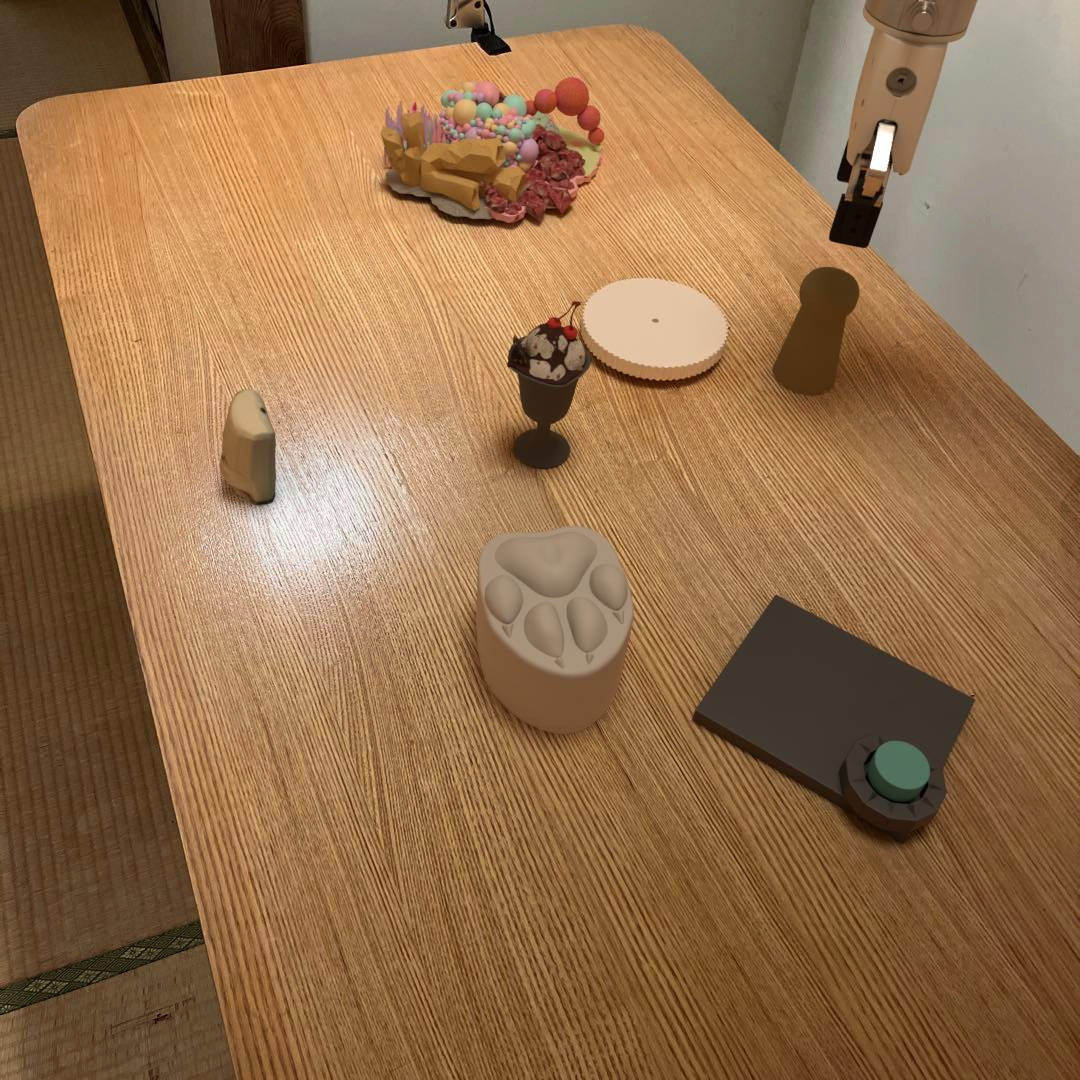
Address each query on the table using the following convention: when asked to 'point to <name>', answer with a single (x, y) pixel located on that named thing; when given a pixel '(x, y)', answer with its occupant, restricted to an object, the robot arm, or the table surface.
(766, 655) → the scale
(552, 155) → the candy landscape model
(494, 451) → the table surface
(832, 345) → the brown game pawn
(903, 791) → the scale button
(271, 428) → the tan tall rounded block
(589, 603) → the lumpy-topped squat cylinder
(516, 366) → the sundae
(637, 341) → the plastic lid
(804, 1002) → the table surface
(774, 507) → the table surface
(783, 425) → the table surface
